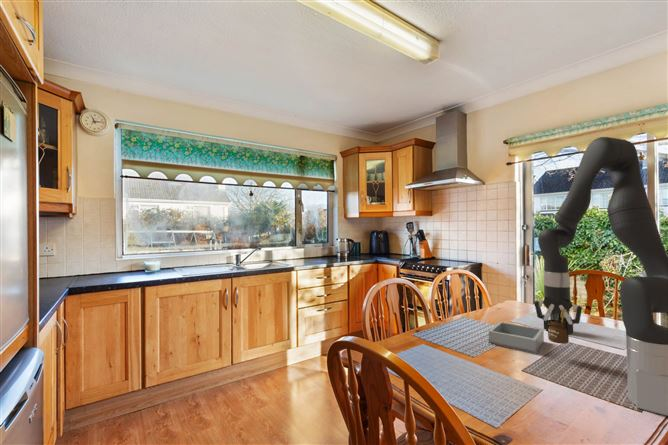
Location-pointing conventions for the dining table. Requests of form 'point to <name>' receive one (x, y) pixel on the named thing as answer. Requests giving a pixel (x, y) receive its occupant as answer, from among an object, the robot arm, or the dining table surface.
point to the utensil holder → (558, 330)
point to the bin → (517, 337)
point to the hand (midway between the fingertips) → (558, 332)
